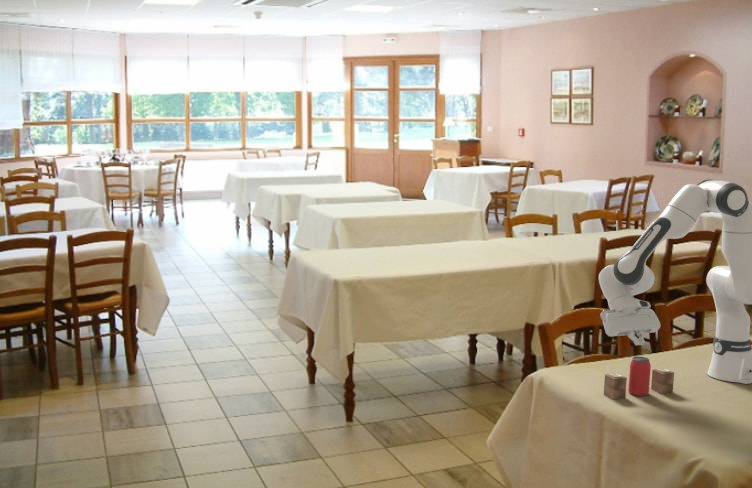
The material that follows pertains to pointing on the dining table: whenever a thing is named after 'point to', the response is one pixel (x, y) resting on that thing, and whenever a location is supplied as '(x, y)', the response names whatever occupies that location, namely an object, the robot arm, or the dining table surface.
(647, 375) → the beer can
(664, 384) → the walnut block
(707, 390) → the dining table surface
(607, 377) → the walnut block
